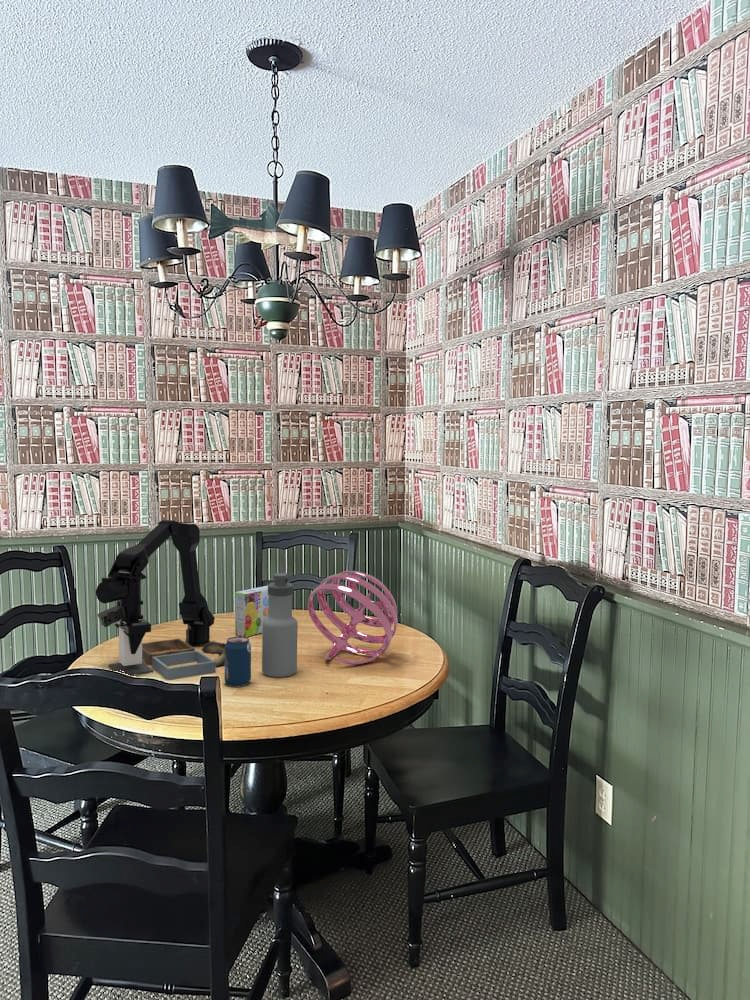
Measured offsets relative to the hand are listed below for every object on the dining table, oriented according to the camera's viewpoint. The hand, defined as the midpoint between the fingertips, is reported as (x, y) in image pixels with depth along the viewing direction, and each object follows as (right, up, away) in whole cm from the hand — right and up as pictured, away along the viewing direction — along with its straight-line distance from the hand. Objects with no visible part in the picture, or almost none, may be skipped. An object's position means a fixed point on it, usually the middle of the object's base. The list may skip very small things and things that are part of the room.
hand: (130, 651), depth 206 cm
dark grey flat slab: (0, -5, 0) cm, 5 cm away
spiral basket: (+63, -6, +16) cm, 65 cm away
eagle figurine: (+23, -5, +8) cm, 25 cm away
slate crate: (+15, -5, +1) cm, 16 cm away
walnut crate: (+6, -4, +14) cm, 16 cm away
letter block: (0, -3, 0) cm, 3 cm away
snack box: (+30, -3, +48) cm, 56 cm away
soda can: (+32, -7, -10) cm, 34 cm away
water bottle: (+42, -6, 0) cm, 42 cm away
